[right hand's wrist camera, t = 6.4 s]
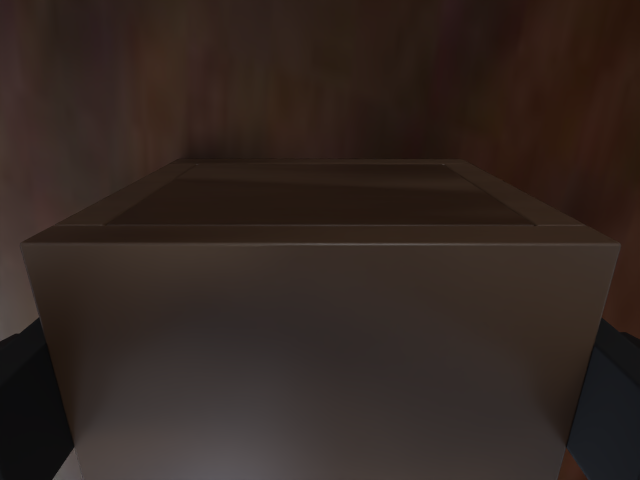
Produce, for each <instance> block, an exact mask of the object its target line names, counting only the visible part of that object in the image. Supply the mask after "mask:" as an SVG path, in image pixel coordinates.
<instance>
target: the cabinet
mask: <svg viewBox="0 0 640 480" xmlns="http://www.w3.org/2000/svg"><path fill="white" fill-rule="evenodd" d="M20 248H21V252H22V255H23V259H24V263H25V266H26V270H27V274H28V277H29V281H30V285H31V289H32V292H33V296H34V300H35V303H36V307H37V311H38V314H39V318H40V322H41V325H42V329H43V333H44V336H45V340H46V344H47V347H48V351H49V355H50V359H51V362H52V366H53V370H54V373H55V377H56V381H57V384H58V388H59V392H60V395H61V399H62V403H63V406H64V410H65V414H66V418H67V421H68V425H69V429H70V432H71V436H72V440H73V443H74V447H75V451H76V454H77V458H78V462H79V465H80V469H81V473H82V477H83V480H557V478H558V475H559V471H560V467H561V464H562V460H563V456H564V453H565V449H566V445H567V442H568V438H569V434H570V431H571V427H572V423H573V420H574V416H575V412H576V409H577V405H578V401H579V398H580V394H581V390H582V387H583V383H584V379H585V376H586V372H587V368H588V365H589V361H590V357H591V354H592V350H593V346H594V343H595V339H596V335H597V332H598V328H599V324H600V321H601V317H602V313H603V310H604V306H605V302H606V299H607V295H608V291H609V288H610V284H611V281H612V277H613V273H614V270H615V266H616V262H617V259H618V255H619V251H620V248H621V244H620V243H619V242H617V241H615V240H613V239H611V238H609V237H608V236H606V235H604V234H602V233H600V232H598V231H596V230H594V229H593V228H591V227H589V226H586V225H585V224H583V223H581V222H579V221H577V220H576V219H574V218H572V217H570V216H568V215H566V214H564V213H562V212H560V211H559V210H557V209H555V208H553V207H551V206H549V205H547V204H545V203H544V202H542V201H540V200H538V199H536V198H534V197H532V196H530V195H529V194H527V193H525V192H523V191H521V190H519V189H517V188H515V187H514V186H512V185H510V184H508V183H506V182H504V181H502V180H500V179H498V178H497V177H495V176H493V175H491V174H489V173H487V172H485V171H483V170H482V169H480V168H478V167H476V166H474V165H472V164H470V163H468V162H467V161H465V160H463V159H178V160H176V161H174V162H172V163H170V164H168V165H166V166H164V167H163V168H161V169H159V170H157V171H155V172H153V173H151V174H149V175H148V176H146V177H144V178H142V179H140V180H138V181H136V182H134V183H132V184H131V185H129V186H127V187H125V188H123V189H121V190H119V191H117V192H116V193H114V194H112V195H110V196H108V197H106V198H104V199H102V200H100V201H99V202H97V203H95V204H93V205H91V206H89V207H87V208H85V209H84V210H82V211H80V212H78V213H76V214H74V215H72V216H70V217H68V218H67V219H65V220H63V221H61V222H59V223H57V224H55V226H51V227H49V228H48V229H46V230H44V231H42V232H40V233H38V234H36V235H34V236H32V237H31V238H29V239H27V240H25V241H23V242H21V243H20Z"/></svg>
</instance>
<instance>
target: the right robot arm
mask: <svg viewBox="0 0 640 480" xmlns="http://www.w3.org/2000/svg"><path fill="white" fill-rule="evenodd" d="M73 448H74V443H73V440H72V436H71V432H70V429H69V425H68V421H67V418H66V414H65V410H64V406H63V403H62V399H61V395H60V392H59V388H58V384H57V381H56V377H55V373H54V370H53V366H52V362H51V359H50V355H49V351H48V347H47V344H46V340H45V336H44V333H43V329H42V325H41V322H40V318H38V319H37V320H35V321H34V322H33V323H32V324H31V325H29V326H28V327H27V328H26V329H25V330H23V331H22V332H21V333H20V334H14V335H12V336H10V337H8V338H6V339H4V340H2V341H0V480H52V479H53V478H54V476H55V475H56V473H57V472H58V470H59V469H60V467H61V466H62V464H63V463H64V461H65V460H66V458H67V457H68V456H69V454H70V453H71V451H72V450H73ZM566 448H567V449H568V450H569V452H570V453H571V455H572V456H573V458H574V459H575V461H576V462H577V464H578V465H579V467H580V468H581V470H582V471H583V473H584V474H585V476H586V477H587V478H588V480H640V339H638V338H636V337H634V336H632V335H630V334H628V333H626V332H618V331H617V330H616V329H615V328H614V327H612V326H611V325H610V324H609V323H608V322H606V321H605V320H604V319H603V318H601V321H600V324H599V328H598V332H597V335H596V339H595V343H594V346H593V350H592V354H591V357H590V361H589V365H588V368H587V372H586V376H585V379H584V383H583V387H582V390H581V394H580V398H579V401H578V405H577V409H576V412H575V416H574V420H573V423H572V427H571V431H570V434H569V438H568V442H567V445H566Z"/></svg>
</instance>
